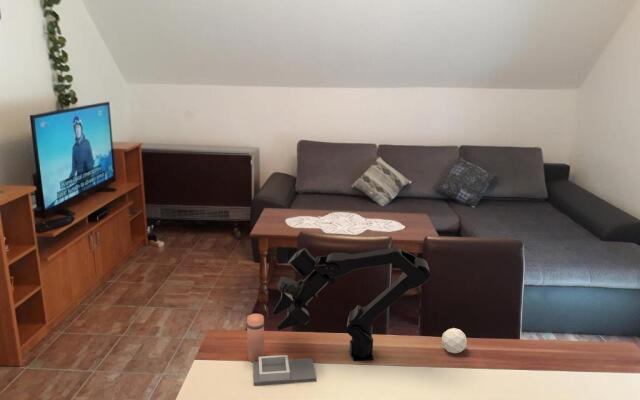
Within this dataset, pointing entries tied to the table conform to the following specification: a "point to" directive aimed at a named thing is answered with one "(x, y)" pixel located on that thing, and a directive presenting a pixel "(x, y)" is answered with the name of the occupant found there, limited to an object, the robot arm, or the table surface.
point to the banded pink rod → (255, 337)
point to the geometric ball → (454, 340)
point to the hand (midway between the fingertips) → (275, 321)
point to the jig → (282, 370)
